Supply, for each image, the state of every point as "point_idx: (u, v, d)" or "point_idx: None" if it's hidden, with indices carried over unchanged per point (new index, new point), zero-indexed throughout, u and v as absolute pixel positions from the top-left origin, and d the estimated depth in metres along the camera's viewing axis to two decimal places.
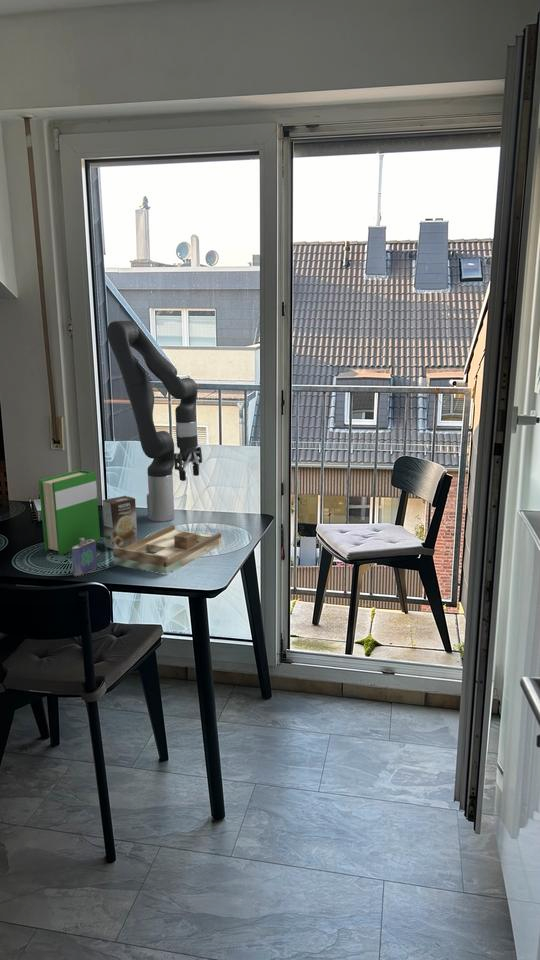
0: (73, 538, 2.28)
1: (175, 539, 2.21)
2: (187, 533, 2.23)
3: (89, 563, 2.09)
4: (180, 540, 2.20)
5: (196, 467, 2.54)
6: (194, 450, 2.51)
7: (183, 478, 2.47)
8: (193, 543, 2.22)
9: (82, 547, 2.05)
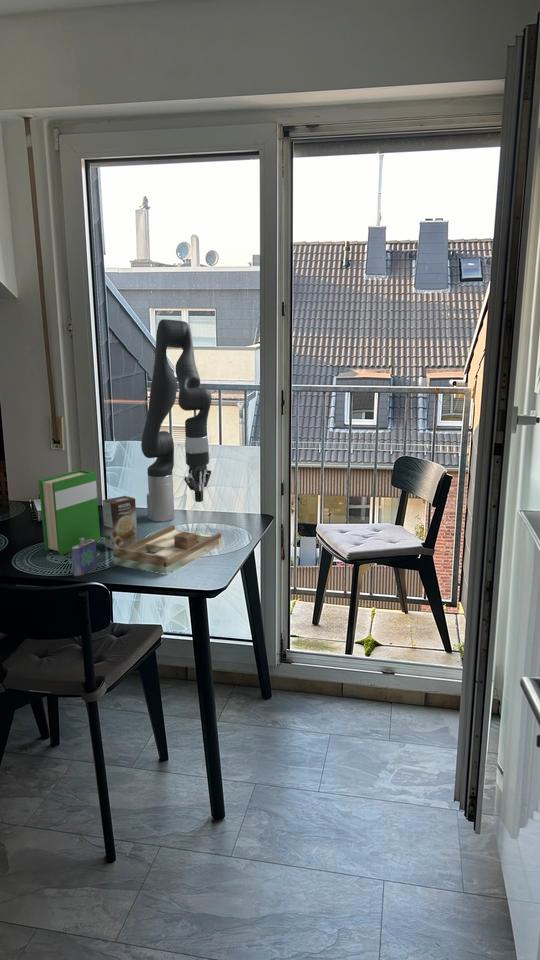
0: (73, 538, 2.28)
1: (175, 539, 2.21)
2: (187, 533, 2.23)
3: (89, 563, 2.09)
4: (180, 540, 2.20)
5: None
6: (205, 466, 2.26)
7: (199, 499, 2.25)
8: (193, 543, 2.22)
9: (82, 547, 2.05)
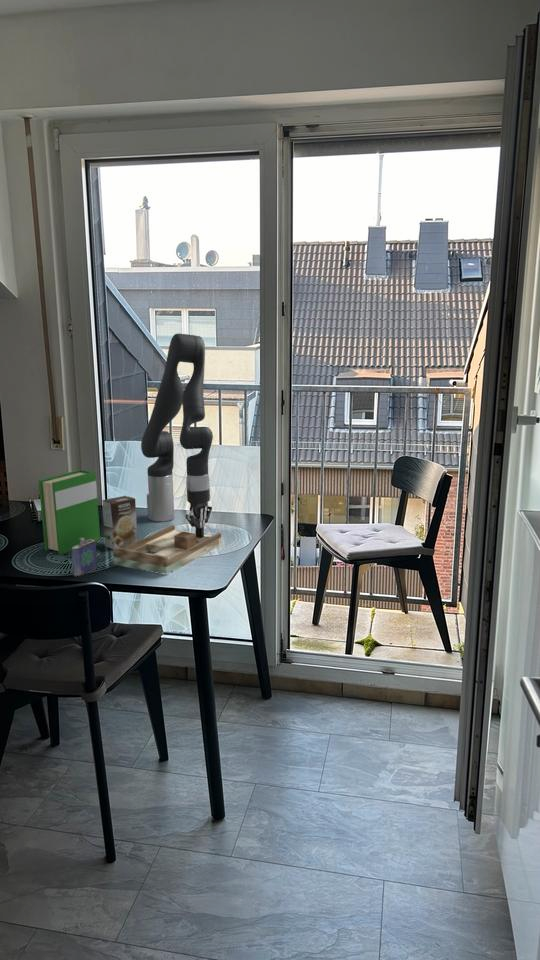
0: (73, 538, 2.28)
1: (175, 539, 2.21)
2: (187, 533, 2.23)
3: (89, 563, 2.09)
4: (180, 540, 2.20)
5: (201, 528, 2.29)
6: (206, 503, 2.29)
7: (200, 535, 2.28)
8: (193, 543, 2.22)
9: (82, 547, 2.05)
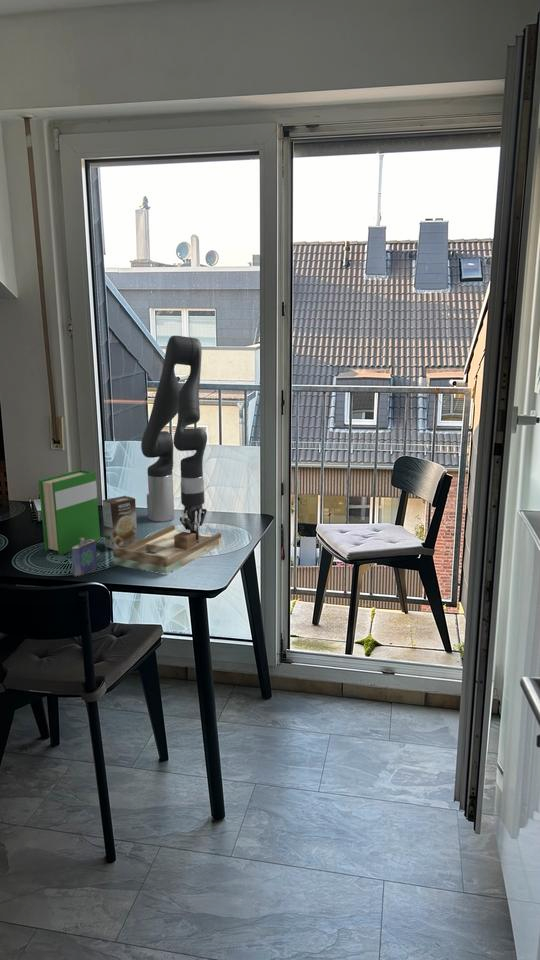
0: (73, 538, 2.28)
1: (175, 539, 2.21)
2: (187, 533, 2.23)
3: (89, 563, 2.09)
4: (180, 540, 2.20)
5: (195, 531, 2.26)
6: (200, 506, 2.26)
7: None
8: (193, 543, 2.22)
9: (82, 547, 2.05)
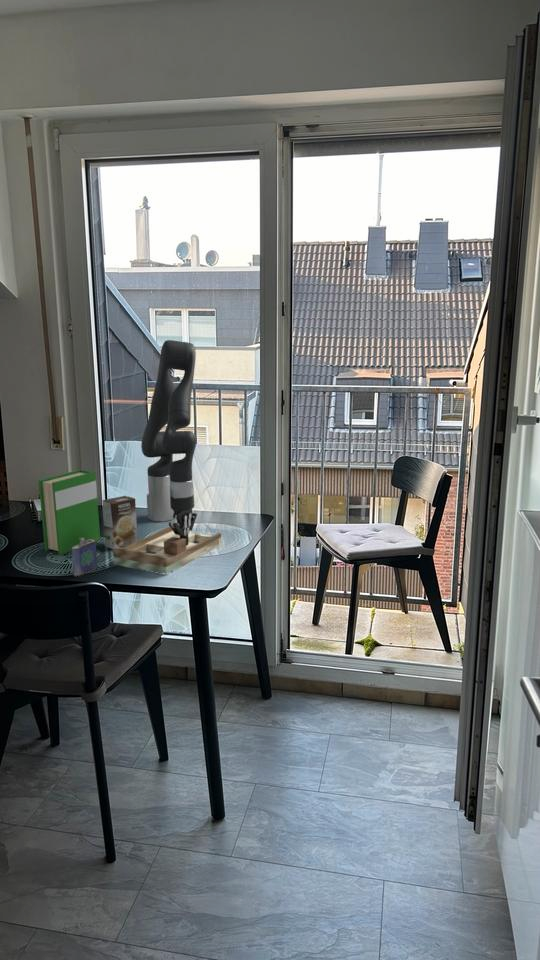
0: (73, 538, 2.28)
1: (165, 545, 2.15)
2: (177, 538, 2.18)
3: (89, 563, 2.09)
4: (170, 546, 2.15)
5: (185, 535, 2.20)
6: (190, 510, 2.21)
7: None
8: (183, 549, 2.17)
9: (82, 547, 2.05)
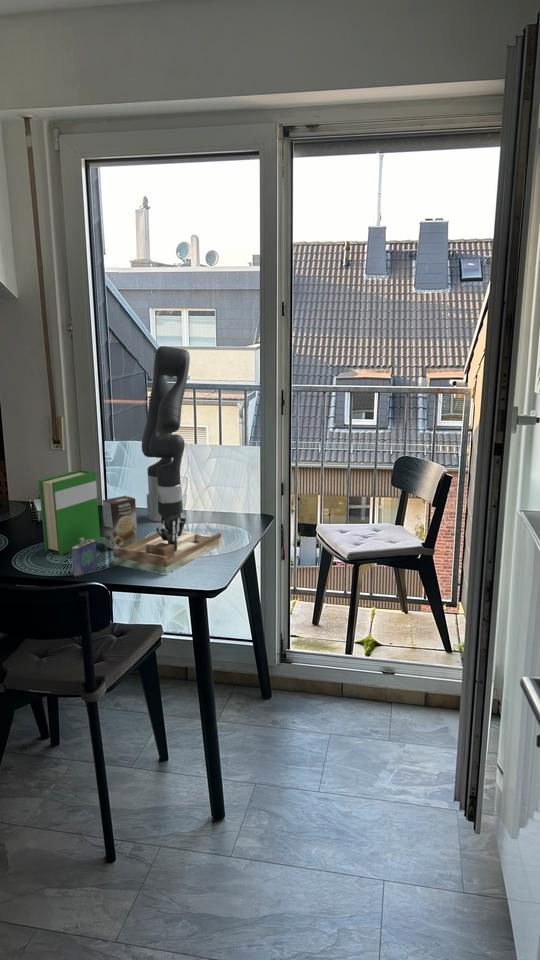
0: (73, 538, 2.28)
1: (152, 551, 2.10)
2: (165, 544, 2.12)
3: (89, 563, 2.09)
4: (157, 552, 2.09)
5: None
6: (179, 515, 2.15)
7: None
8: (171, 555, 2.12)
9: (82, 547, 2.05)
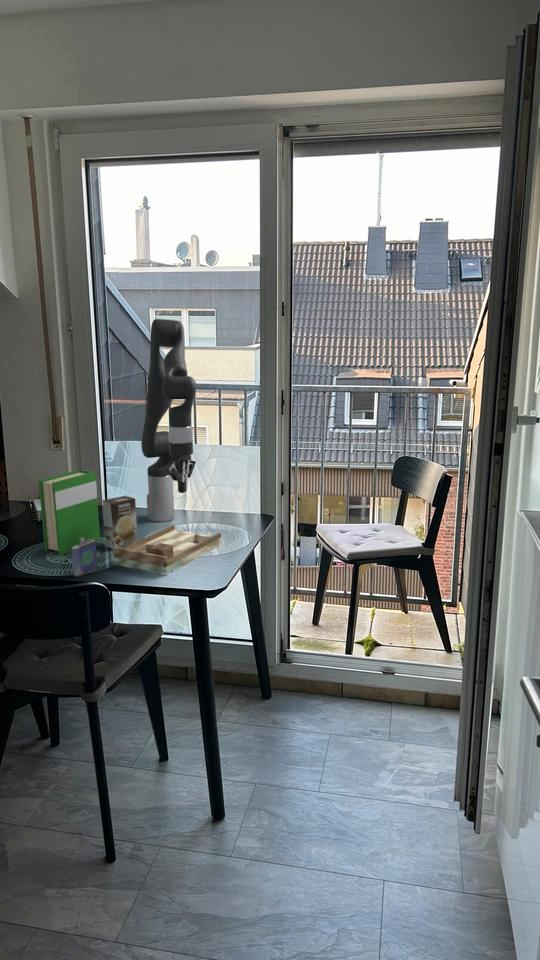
0: (73, 538, 2.28)
1: (151, 551, 2.10)
2: (163, 545, 2.12)
3: (89, 563, 2.09)
4: (156, 552, 2.09)
5: None
6: (189, 457, 2.21)
7: (182, 490, 2.21)
8: (170, 555, 2.11)
9: (82, 547, 2.05)
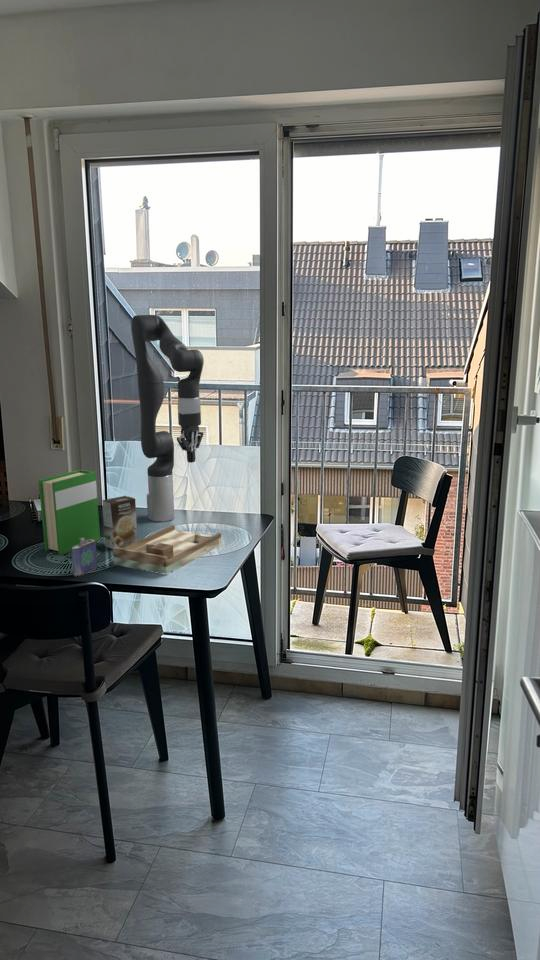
0: (73, 538, 2.28)
1: (151, 551, 2.10)
2: (163, 545, 2.12)
3: (89, 563, 2.09)
4: (156, 552, 2.09)
5: None
6: (197, 428, 2.31)
7: (191, 459, 2.31)
8: (170, 555, 2.11)
9: (82, 547, 2.05)
